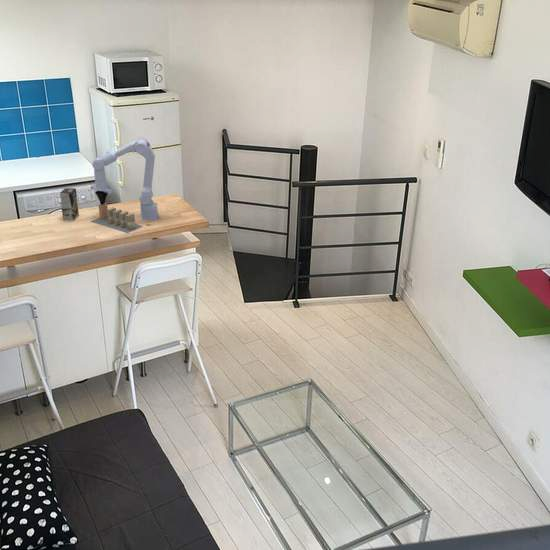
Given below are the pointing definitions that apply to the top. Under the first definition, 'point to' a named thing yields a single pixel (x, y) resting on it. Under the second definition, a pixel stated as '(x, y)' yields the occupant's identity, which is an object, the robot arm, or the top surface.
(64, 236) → the top surface
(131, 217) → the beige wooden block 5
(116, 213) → the grey wooden block
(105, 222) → the slate mat
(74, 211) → the coffee box
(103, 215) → the terracotta tile
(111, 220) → the grey wood block
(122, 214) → the wooden block
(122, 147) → the robot arm
